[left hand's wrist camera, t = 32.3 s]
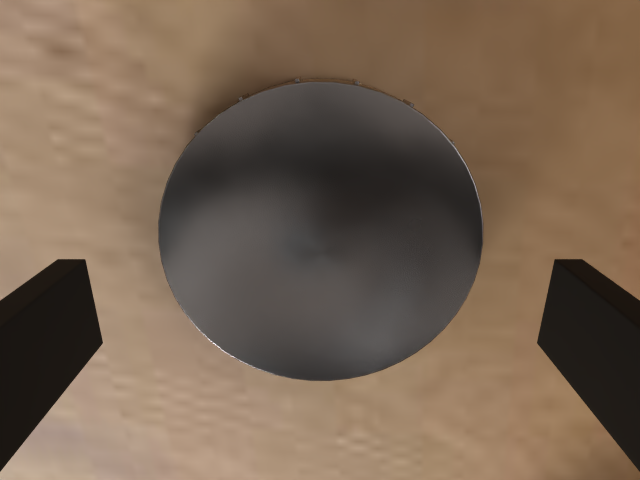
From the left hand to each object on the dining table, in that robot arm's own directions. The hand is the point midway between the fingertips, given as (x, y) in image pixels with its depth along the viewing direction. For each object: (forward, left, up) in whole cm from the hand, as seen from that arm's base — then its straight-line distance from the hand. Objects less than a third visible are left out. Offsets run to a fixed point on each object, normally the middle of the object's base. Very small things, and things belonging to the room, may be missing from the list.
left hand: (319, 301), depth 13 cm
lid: (0, -1, -2) cm, 2 cm away
